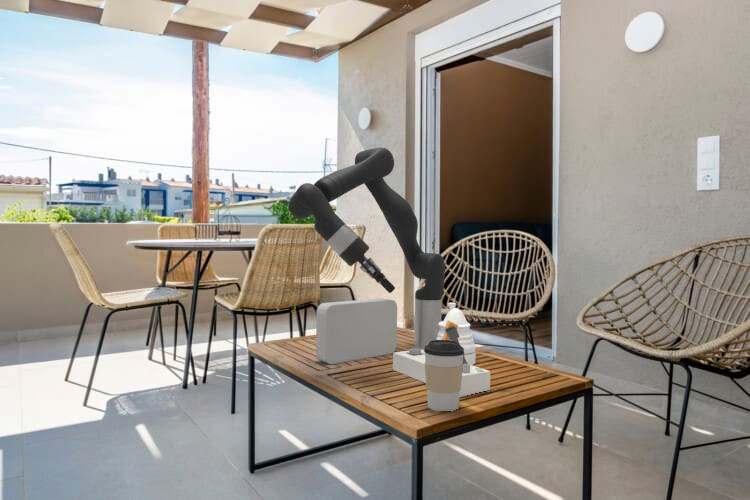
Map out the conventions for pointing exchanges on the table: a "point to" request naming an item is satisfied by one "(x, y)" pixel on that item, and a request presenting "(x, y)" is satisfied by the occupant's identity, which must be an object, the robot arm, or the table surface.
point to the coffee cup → (443, 374)
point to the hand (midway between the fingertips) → (392, 290)
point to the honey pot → (460, 332)
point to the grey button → (414, 351)
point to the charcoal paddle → (454, 337)
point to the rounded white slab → (355, 330)
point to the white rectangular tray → (415, 368)
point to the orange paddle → (448, 324)
